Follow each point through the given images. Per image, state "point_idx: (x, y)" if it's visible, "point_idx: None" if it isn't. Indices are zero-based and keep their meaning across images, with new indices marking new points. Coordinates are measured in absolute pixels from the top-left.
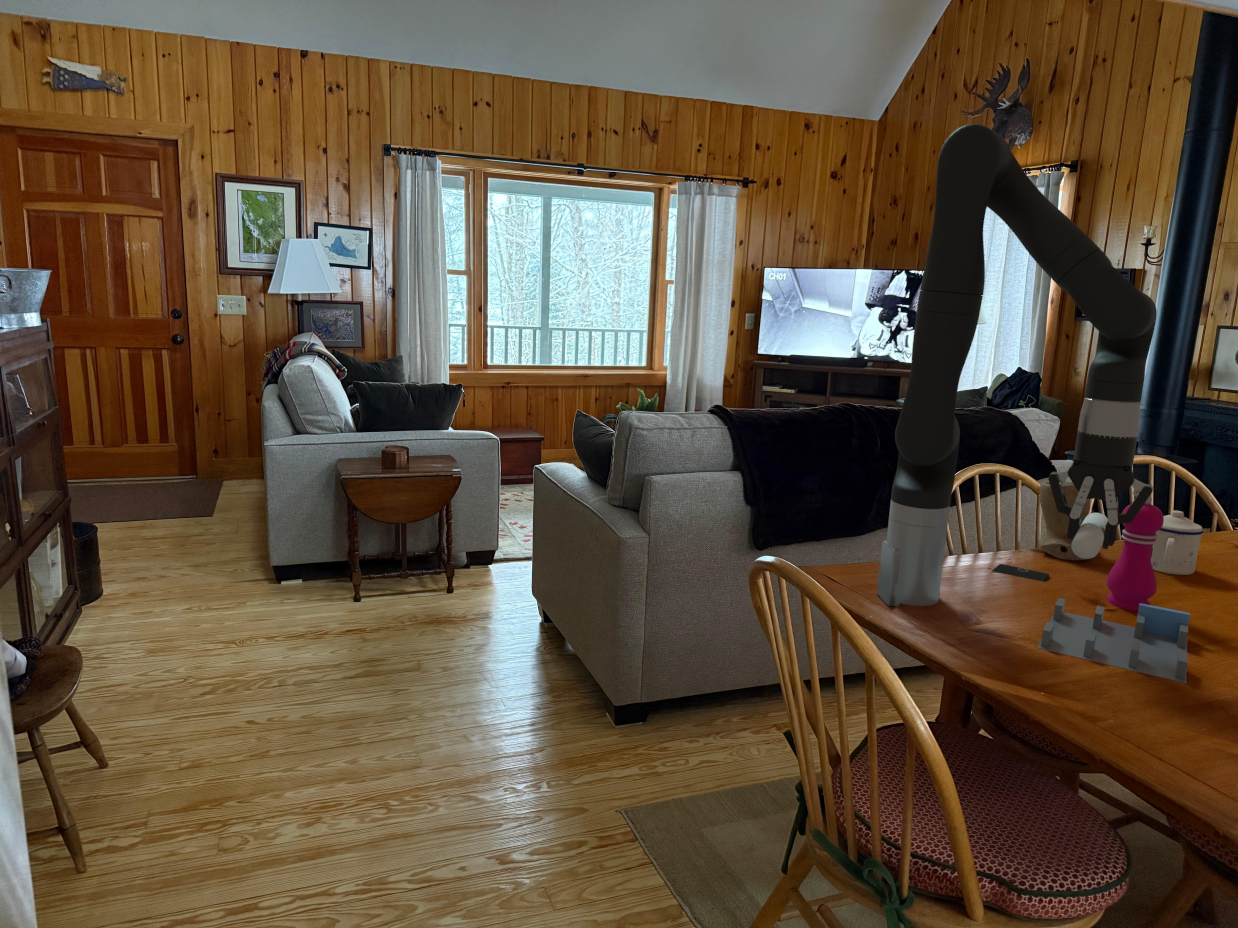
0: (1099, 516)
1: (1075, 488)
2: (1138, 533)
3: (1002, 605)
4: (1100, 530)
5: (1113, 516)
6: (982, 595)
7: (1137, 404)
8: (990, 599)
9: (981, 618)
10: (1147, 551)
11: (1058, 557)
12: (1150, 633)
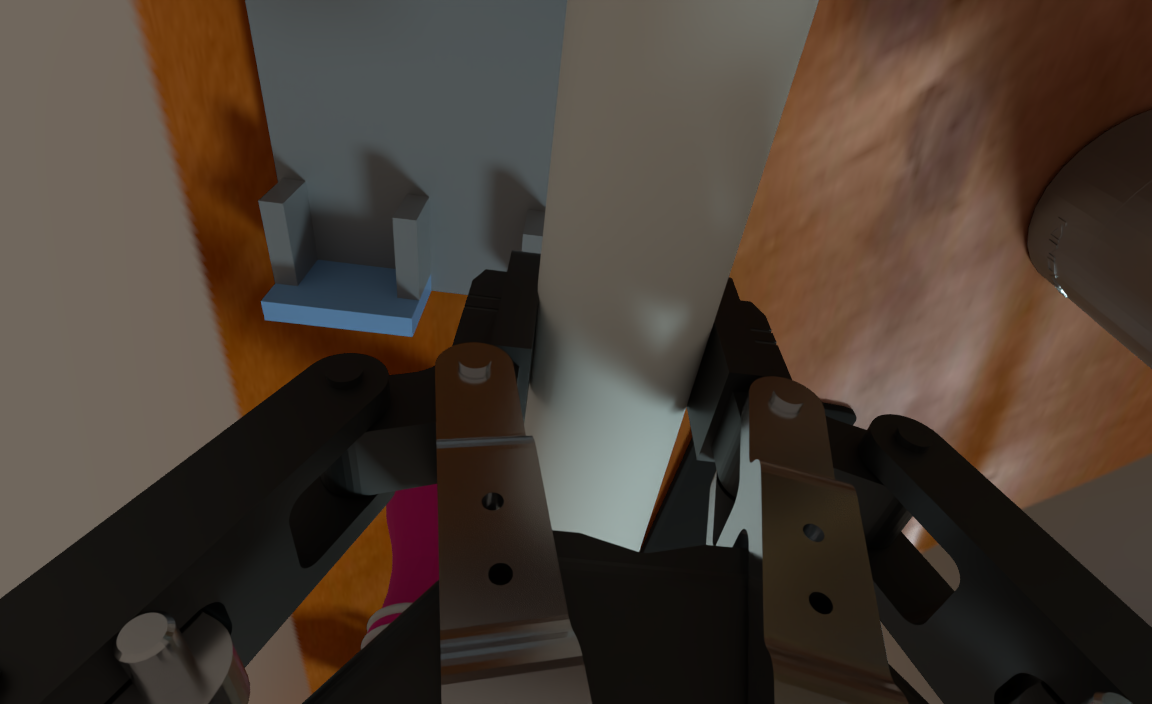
0: None
1: None
2: None
3: (795, 318)
4: (569, 286)
5: (470, 393)
6: (840, 370)
7: None
8: (822, 350)
9: (898, 162)
10: (396, 585)
11: None
12: (388, 259)
